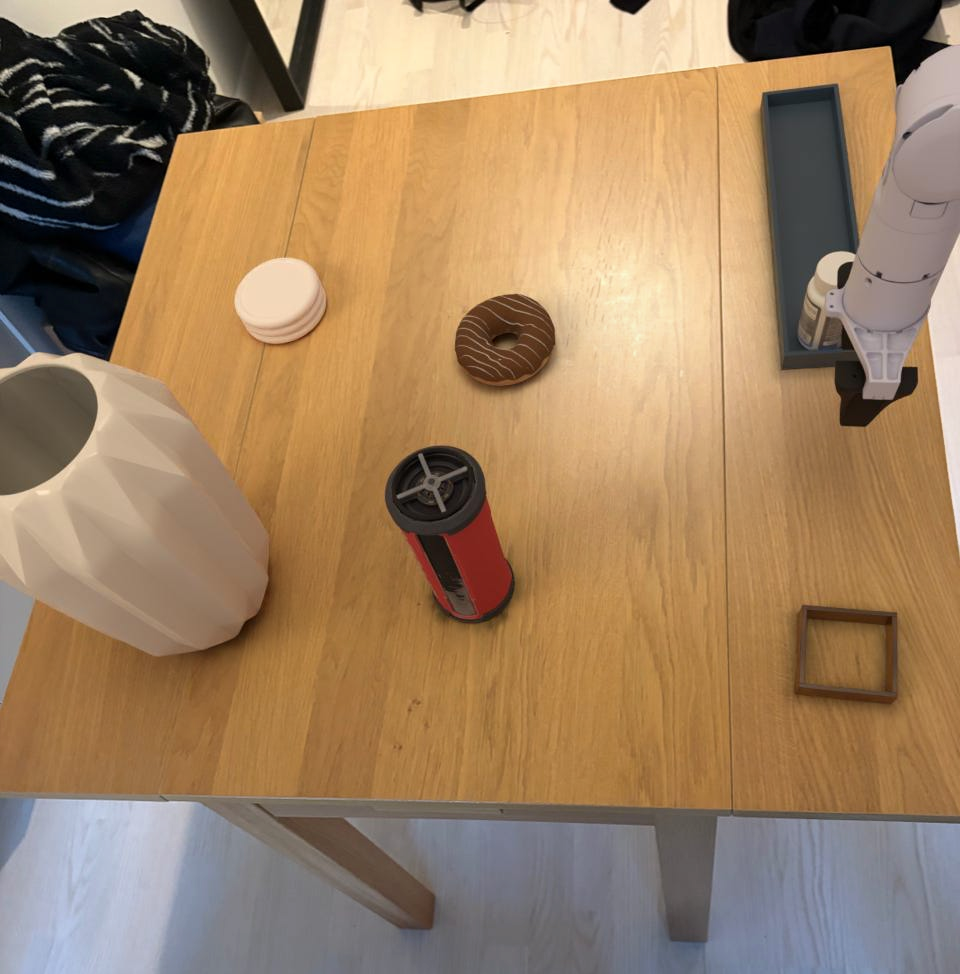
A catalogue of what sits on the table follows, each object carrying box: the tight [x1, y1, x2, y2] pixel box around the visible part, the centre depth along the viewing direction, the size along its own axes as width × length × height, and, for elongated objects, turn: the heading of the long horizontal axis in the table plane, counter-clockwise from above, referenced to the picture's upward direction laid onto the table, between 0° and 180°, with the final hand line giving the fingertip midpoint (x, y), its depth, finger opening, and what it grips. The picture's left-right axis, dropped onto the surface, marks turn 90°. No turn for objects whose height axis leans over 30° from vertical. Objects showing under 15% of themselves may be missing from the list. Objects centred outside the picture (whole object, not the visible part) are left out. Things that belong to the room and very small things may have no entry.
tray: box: [759, 82, 860, 370], centre depth 85 cm, size 37×8×2 cm, turn 176°
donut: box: [454, 293, 557, 387], centre depth 85 cm, size 11×11×4 cm
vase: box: [0, 351, 270, 658], centre depth 69 cm, size 20×20×27 cm
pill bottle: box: [797, 251, 856, 350], centre depth 76 cm, size 5×5×8 cm
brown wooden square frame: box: [794, 604, 899, 705], centre depth 68 cm, size 7×7×2 cm
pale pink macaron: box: [233, 257, 327, 345], centre depth 93 cm, size 10×10×4 cm
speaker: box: [384, 444, 516, 623], centre depth 69 cm, size 8×8×18 cm
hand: (854, 384), depth 67 cm, fingers open, 7 cm apart
